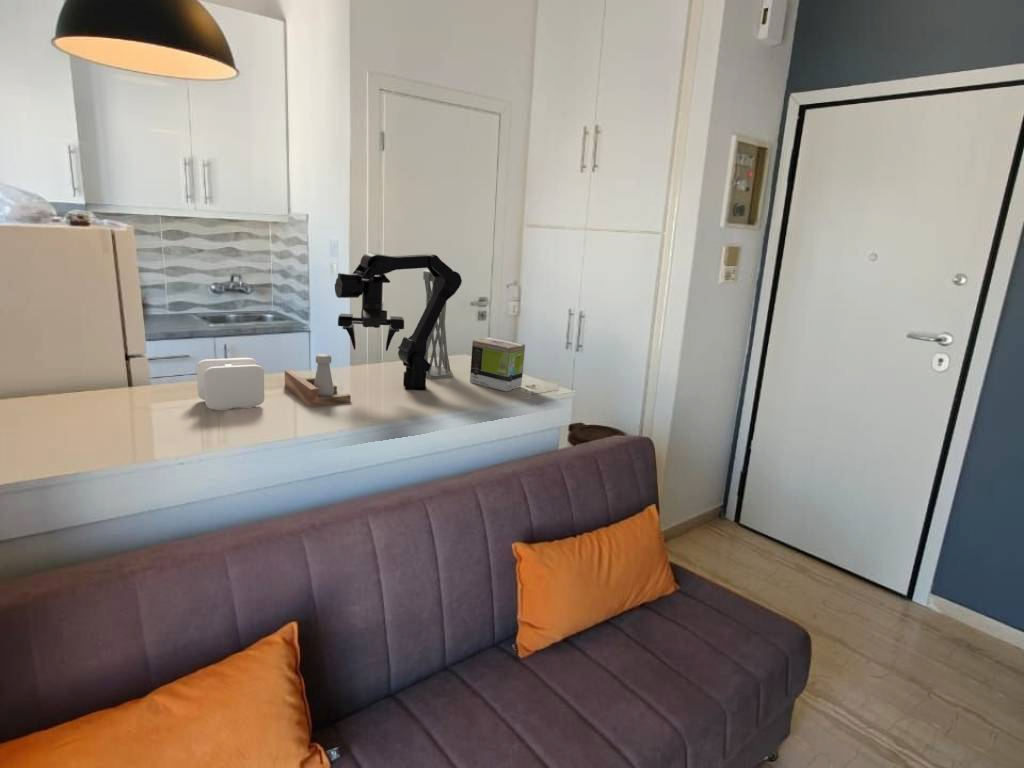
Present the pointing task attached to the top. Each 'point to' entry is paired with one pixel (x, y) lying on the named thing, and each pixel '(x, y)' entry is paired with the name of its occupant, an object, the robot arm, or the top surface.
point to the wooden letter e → (311, 391)
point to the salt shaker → (323, 376)
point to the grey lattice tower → (443, 356)
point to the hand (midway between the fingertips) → (370, 350)
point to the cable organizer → (230, 383)
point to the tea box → (497, 363)
